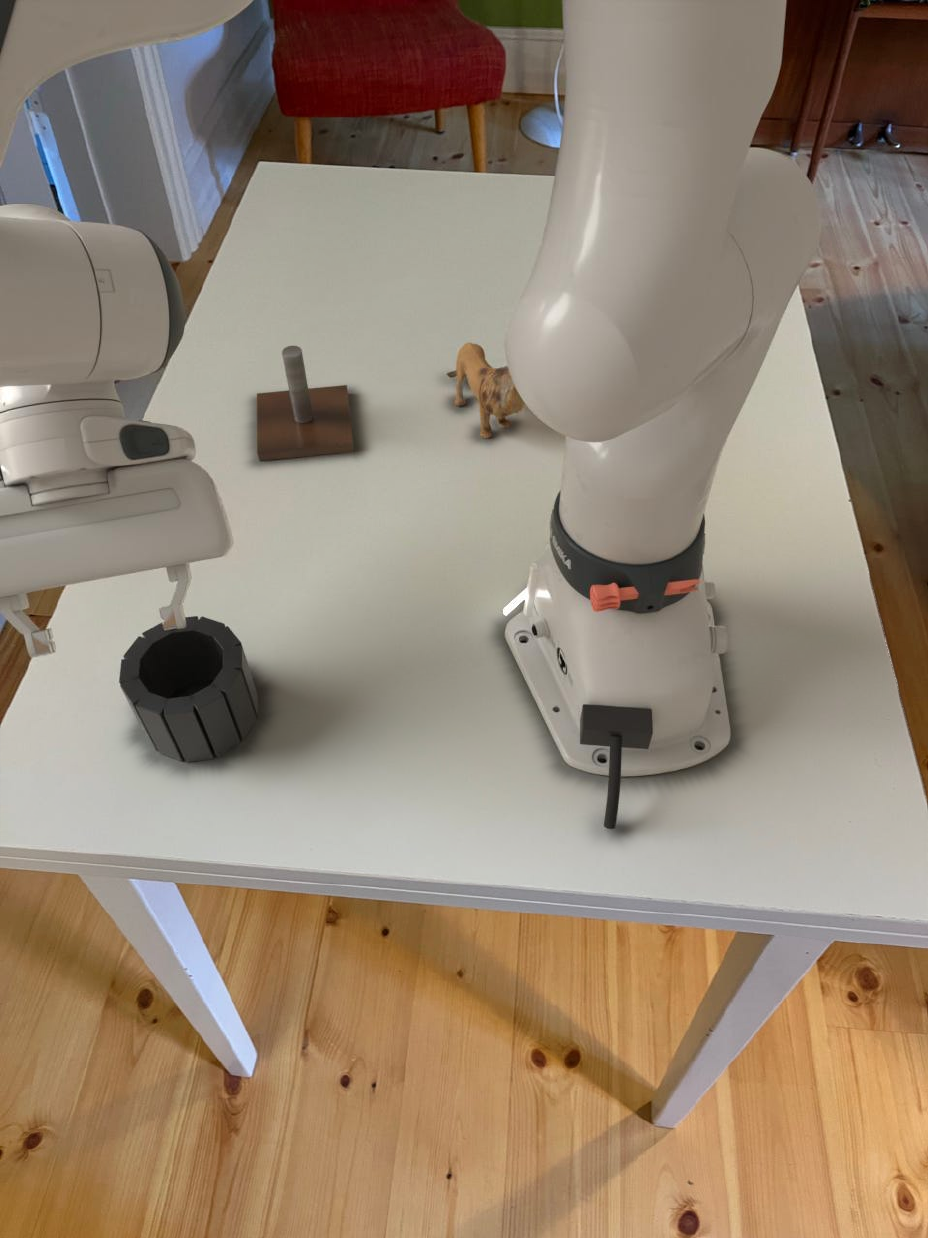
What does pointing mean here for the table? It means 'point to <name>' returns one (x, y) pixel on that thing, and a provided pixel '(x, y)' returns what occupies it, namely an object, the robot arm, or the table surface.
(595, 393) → the robot arm
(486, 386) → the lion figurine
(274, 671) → the table surface
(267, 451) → the peg stand
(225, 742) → the dark grey grooved ring
